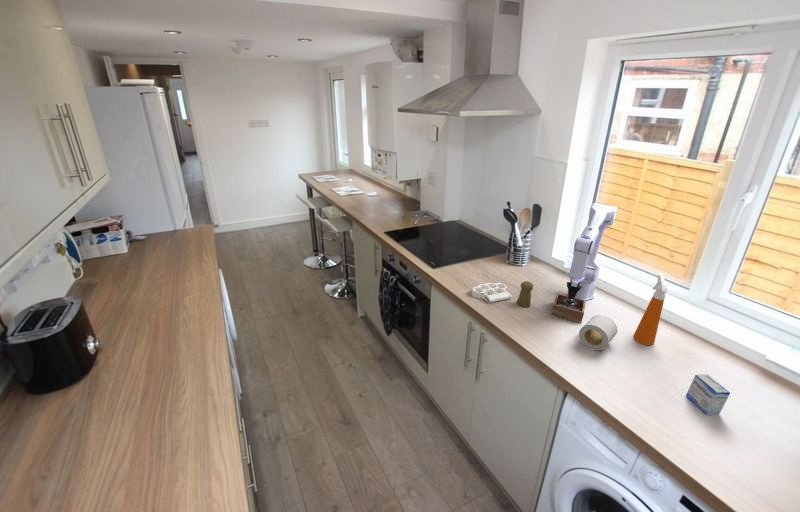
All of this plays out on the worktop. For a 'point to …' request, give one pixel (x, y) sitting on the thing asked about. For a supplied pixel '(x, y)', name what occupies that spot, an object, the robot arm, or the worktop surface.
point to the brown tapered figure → (525, 295)
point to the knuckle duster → (491, 292)
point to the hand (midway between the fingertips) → (571, 294)
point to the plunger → (569, 304)
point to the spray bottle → (652, 314)
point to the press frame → (568, 309)
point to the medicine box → (707, 394)
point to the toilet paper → (598, 332)
